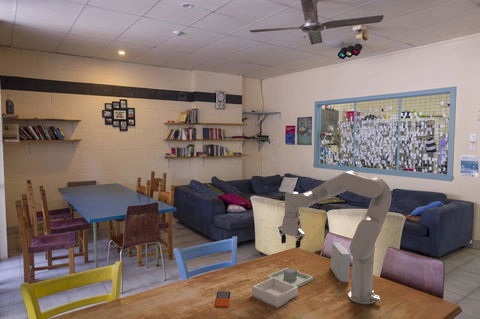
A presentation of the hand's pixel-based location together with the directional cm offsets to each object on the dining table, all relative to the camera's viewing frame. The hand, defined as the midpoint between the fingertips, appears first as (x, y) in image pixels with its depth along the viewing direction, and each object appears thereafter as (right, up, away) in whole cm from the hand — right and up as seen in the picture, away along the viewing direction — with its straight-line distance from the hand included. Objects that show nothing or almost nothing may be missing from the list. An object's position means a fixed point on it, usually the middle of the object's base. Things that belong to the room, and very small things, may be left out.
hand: (290, 245), depth 179 cm
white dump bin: (-10, -21, -17) cm, 29 cm away
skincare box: (+30, -20, +10) cm, 37 cm away
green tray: (0, -20, +1) cm, 20 cm away
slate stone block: (0, -19, +1) cm, 19 cm away
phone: (-36, -22, -21) cm, 47 cm away
